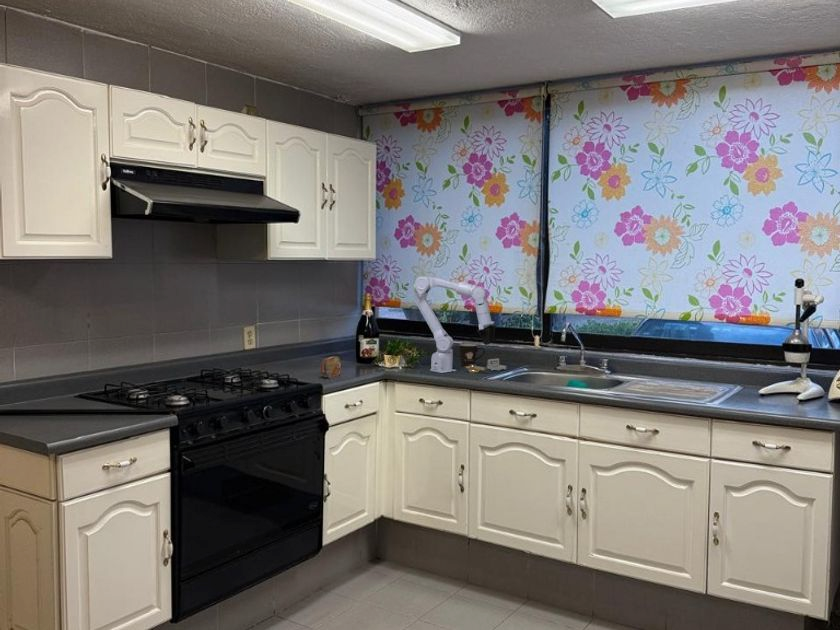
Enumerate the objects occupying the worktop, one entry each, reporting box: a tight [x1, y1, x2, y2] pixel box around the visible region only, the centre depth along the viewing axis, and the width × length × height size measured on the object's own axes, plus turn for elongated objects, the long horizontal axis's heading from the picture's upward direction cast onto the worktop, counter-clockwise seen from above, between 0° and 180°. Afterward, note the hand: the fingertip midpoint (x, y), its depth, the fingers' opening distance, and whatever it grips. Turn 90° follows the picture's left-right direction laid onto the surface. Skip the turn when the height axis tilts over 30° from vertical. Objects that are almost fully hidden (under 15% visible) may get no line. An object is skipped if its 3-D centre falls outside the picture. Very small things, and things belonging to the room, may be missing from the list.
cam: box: [464, 363, 489, 373], centre depth 337 cm, size 11×6×3 cm, turn 44°
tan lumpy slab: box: [321, 355, 342, 379], centre depth 319 cm, size 15×3×8 cm, turn 161°
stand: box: [486, 358, 507, 371], centre depth 348 cm, size 8×5×4 cm, turn 134°
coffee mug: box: [458, 343, 486, 367], centre depth 356 cm, size 12×9×10 cm
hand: (489, 343), depth 334 cm, fingers open, 7 cm apart
